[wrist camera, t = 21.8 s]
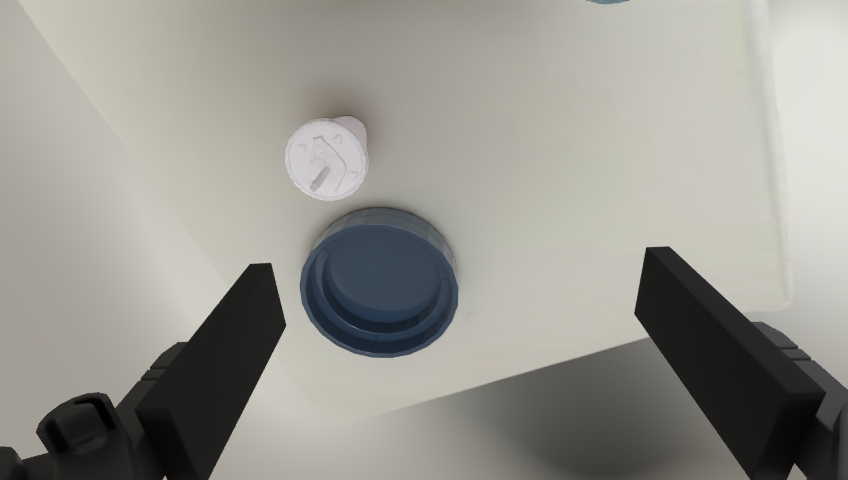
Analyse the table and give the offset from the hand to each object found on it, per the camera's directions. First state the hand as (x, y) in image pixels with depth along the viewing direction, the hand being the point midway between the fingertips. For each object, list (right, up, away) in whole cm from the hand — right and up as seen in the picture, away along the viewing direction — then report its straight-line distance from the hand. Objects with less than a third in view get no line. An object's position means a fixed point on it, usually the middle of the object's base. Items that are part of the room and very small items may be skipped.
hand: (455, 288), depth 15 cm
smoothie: (-8, +12, +27) cm, 30 cm away
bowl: (-6, -2, +33) cm, 34 cm away
